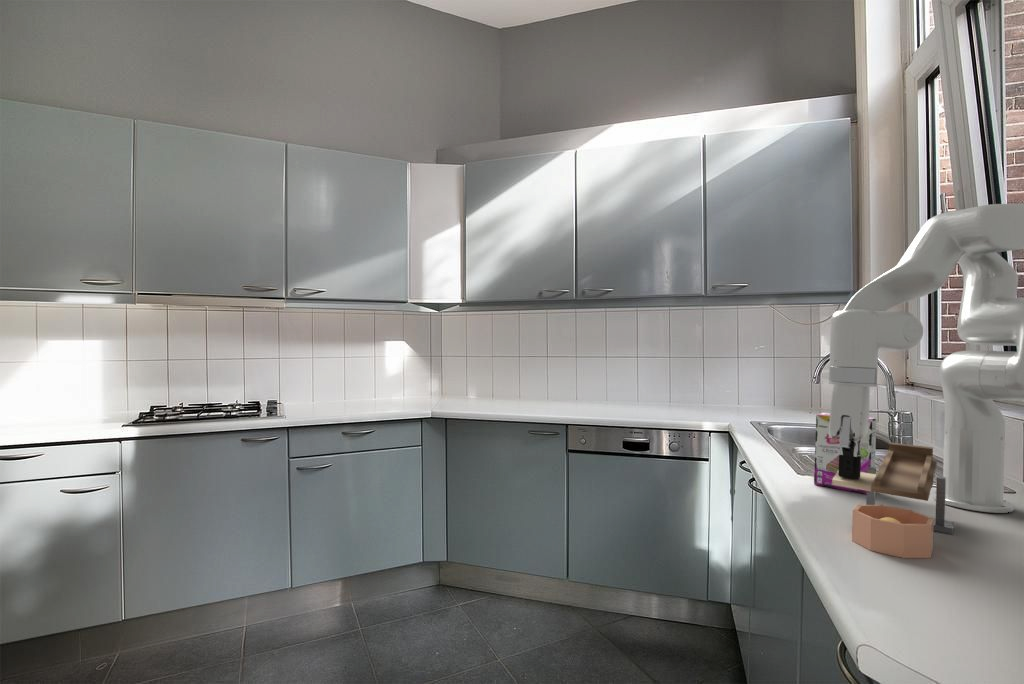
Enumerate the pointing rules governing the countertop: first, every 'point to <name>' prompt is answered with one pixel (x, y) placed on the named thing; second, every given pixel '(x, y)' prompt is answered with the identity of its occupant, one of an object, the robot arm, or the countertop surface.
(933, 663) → the countertop surface
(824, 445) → the candy bar box
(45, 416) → the countertop surface
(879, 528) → the salmon orange faceted bowl
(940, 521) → the stand
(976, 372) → the robot arm
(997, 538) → the countertop surface
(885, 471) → the wooden tray
